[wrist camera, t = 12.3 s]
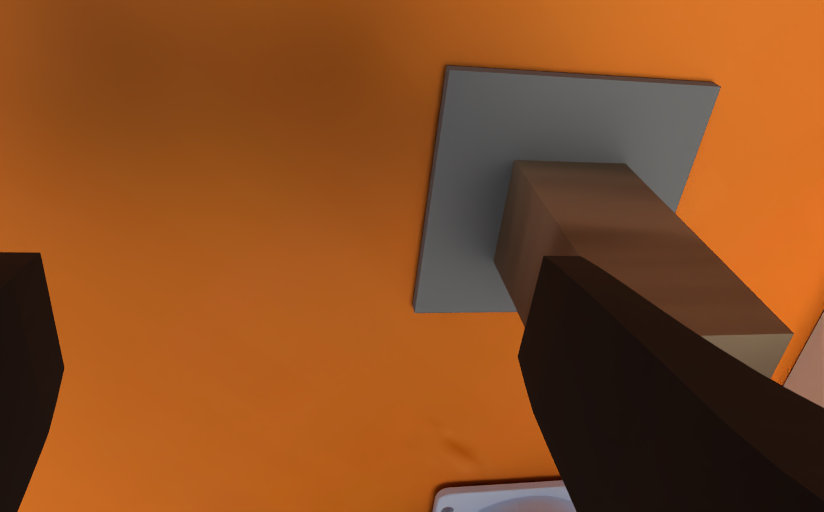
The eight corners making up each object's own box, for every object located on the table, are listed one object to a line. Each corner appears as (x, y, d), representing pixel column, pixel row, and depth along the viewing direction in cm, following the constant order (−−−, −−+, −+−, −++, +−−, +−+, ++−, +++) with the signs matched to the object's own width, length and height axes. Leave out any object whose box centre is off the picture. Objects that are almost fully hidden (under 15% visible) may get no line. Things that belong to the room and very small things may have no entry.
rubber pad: (634, 303, 24) (639, 310, 24) (412, 305, 22) (414, 313, 22) (713, 82, 20) (720, 86, 19) (446, 65, 18) (449, 69, 18)
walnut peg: (596, 261, 22) (731, 453, 16) (493, 261, 21) (590, 461, 15) (625, 163, 20) (793, 333, 14) (514, 160, 20) (635, 337, 13)
